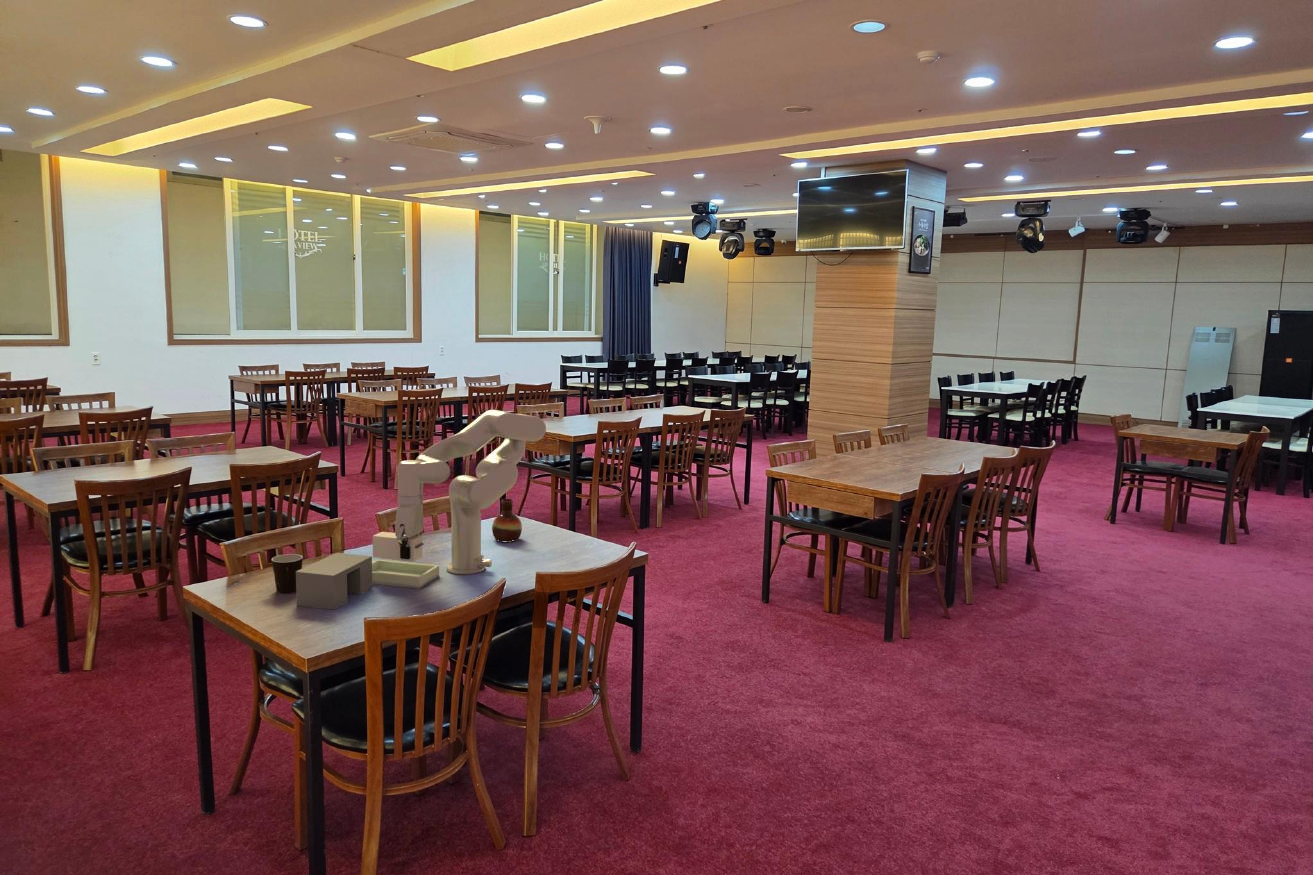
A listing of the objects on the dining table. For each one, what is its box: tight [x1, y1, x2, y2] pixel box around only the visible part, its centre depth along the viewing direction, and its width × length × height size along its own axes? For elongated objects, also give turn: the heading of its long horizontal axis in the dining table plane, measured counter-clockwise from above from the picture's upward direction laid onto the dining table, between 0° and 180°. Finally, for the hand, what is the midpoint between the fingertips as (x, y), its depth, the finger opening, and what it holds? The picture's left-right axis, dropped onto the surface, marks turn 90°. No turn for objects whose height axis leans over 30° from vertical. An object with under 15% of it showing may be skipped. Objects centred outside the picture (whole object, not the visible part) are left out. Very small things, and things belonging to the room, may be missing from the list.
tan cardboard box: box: [372, 531, 424, 563], centre depth 262 cm, size 15×6×7 cm, turn 79°
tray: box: [372, 558, 440, 590], centre depth 264 cm, size 22×13×4 cm, turn 78°
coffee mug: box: [271, 553, 304, 595], centre depth 248 cm, size 12×9×10 cm
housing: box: [295, 552, 373, 610], centre depth 246 cm, size 12×20×10 cm, turn 168°
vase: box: [491, 498, 523, 542], centre depth 312 cm, size 11×11×15 cm
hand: (410, 555), depth 262 cm, fingers closed on tan cardboard box, 5 cm apart
